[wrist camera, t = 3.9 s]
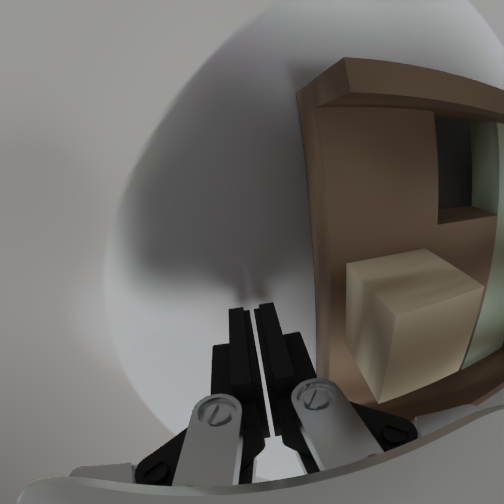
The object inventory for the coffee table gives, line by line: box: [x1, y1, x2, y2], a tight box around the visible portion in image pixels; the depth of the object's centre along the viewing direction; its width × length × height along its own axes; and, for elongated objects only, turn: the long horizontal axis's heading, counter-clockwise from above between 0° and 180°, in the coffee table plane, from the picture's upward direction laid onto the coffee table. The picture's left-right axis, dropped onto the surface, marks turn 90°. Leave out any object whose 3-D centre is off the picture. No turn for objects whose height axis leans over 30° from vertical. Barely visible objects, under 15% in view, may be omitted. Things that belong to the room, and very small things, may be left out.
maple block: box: [344, 248, 484, 404], centre depth 10 cm, size 4×4×4 cm
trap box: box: [296, 57, 504, 421], centre depth 12 cm, size 18×16×6 cm
